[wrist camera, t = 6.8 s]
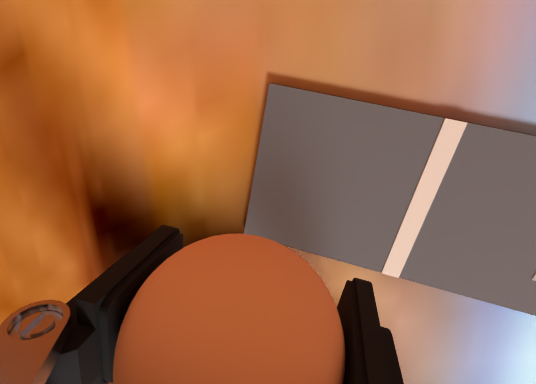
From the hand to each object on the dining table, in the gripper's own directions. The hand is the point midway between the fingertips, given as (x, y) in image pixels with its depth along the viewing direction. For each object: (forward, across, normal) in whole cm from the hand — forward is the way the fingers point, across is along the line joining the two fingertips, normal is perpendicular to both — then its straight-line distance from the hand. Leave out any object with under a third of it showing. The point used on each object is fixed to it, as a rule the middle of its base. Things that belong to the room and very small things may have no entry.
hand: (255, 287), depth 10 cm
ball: (-2, 0, 0) cm, 2 cm away
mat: (+14, -12, 0) cm, 18 cm away
